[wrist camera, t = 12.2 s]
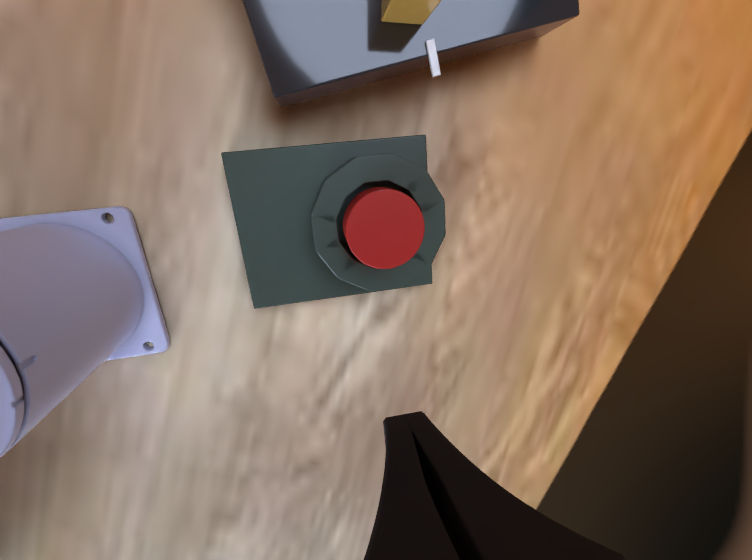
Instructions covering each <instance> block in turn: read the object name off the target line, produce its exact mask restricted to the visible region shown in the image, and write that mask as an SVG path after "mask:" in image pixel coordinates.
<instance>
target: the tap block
mask: <svg viewBox="0 0 752 560" xmlns="http://www.w3.org/2000/svg"><path fill="white" fill-rule="evenodd" d="M242 1H243V4H244V7H245V10H246V13H247V16H248V19H249V22H250V25H251V28H252V31H253V34H254V37H255V40H256V43H257V46H258V50H259V53H260V56H261V59H262V62H263V65H264V68H265V71H266V74H267V77H268V80H269V83H270V86H271V89H272V92H273V95H274V97H275V99H276V101H277V102H278V104H279V106H280V107H286V106H289V105H293V104H297V103H300V102H304V101H308V100H311V99H315V98H319V97H322V96H326V95H330V94H333V93H337V92H341V91H344V90H348V89H352V88H355V87H359V86H363V85H366V84H370V83H374V82H377V81H381V80H385V79H388V78H392V77H396V76H399V75H403V74H407V73H410V72H414V71H418V70H421V69H425V68H429V67H430V68H431V74H432V77H436V76H440V75H441V73H440V67H439V65H440V64H443V63H447V62H451V61H454V60H458V59H462V58H465V57H469V56H473V55H476V54H480V53H484V52H487V51H491V50H495V49H498V48H502V47H506V46H509V45H513V44H517V43H520V42H524V41H528V40H531V39H535V38H539V37H541V36H543V35H545V34H547V33H548V32H550V31H552V30H554V29H555V28H557V27H559V26H561V25H562V24H564V23H566V22H568V21H570V20H571V19H573V18H575V17H577V16H578V15H579V2H578V0H441V2H440V3H439V4H438V6H437V7H436V8H435V9H434V11H433V12H432V13H431V15H430V16H429V17H428V18H427V20H426V21H425V22H424V24H408V23H394V22H383V21H382V20H381V1H382V0H242Z"/></svg>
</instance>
